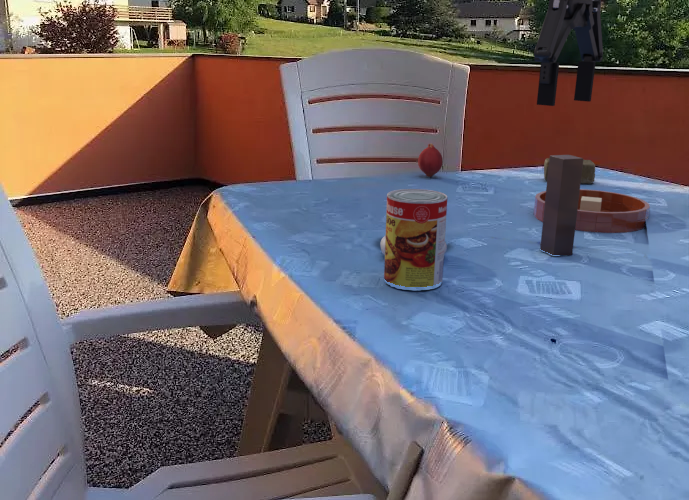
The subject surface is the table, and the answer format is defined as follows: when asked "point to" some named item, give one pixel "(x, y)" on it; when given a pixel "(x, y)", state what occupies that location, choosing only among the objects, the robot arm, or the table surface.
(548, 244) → the stick
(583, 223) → the bowl
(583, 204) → the block
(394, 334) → the table surface
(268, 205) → the table surface
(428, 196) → the canned food
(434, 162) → the onion
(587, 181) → the stone block
